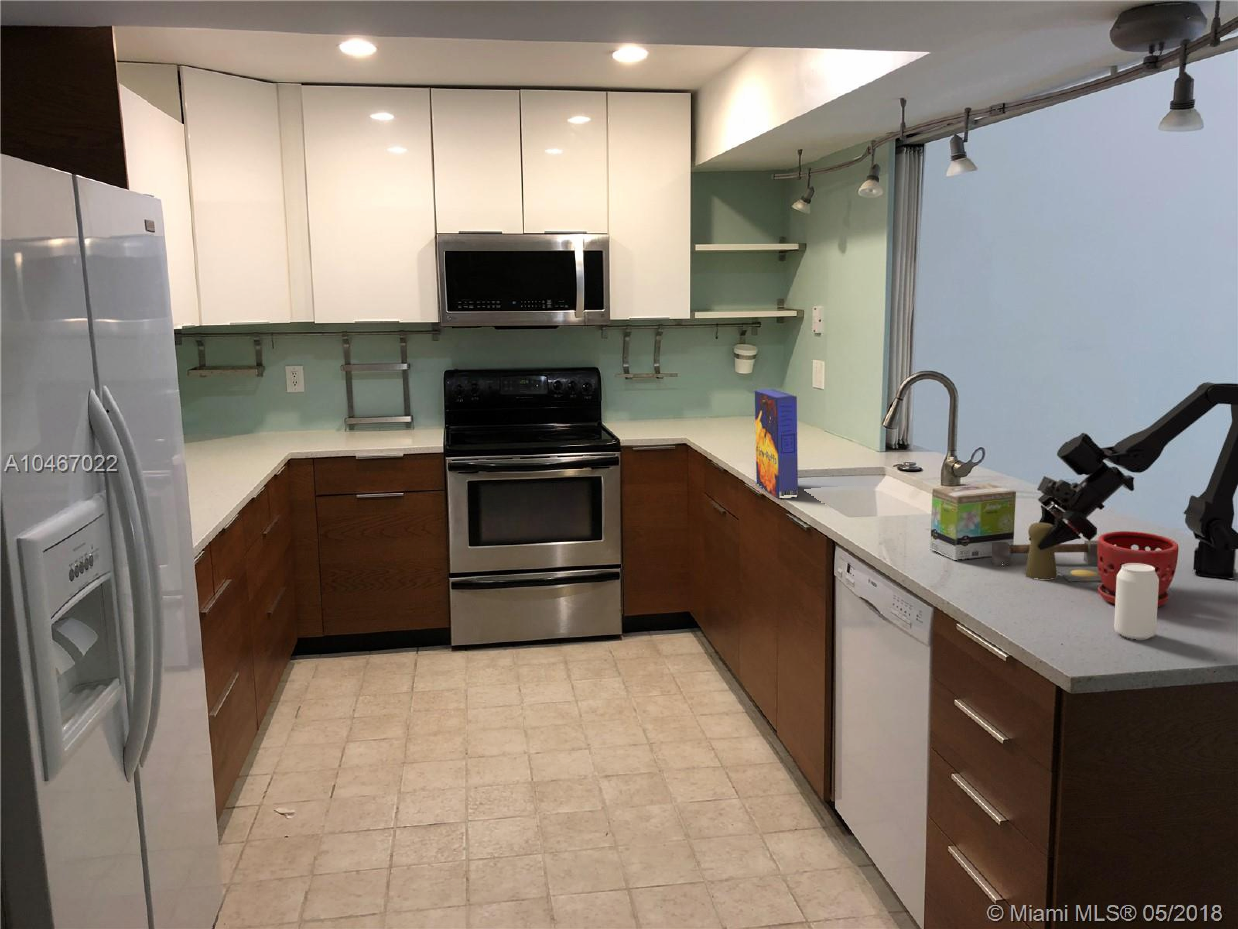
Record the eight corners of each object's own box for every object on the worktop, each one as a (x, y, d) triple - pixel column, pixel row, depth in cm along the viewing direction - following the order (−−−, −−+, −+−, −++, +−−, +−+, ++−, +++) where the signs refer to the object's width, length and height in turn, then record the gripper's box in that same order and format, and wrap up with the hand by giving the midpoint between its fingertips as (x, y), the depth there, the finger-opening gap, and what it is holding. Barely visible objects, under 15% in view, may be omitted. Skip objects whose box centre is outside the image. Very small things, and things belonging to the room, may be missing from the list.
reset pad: (1098, 568, 196) (1098, 566, 195) (1116, 581, 187) (1116, 579, 187) (1053, 569, 197) (1053, 567, 197) (1068, 582, 188) (1068, 580, 188)
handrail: (1098, 560, 201) (1099, 540, 200) (1103, 564, 198) (1104, 544, 197) (991, 561, 204) (992, 542, 203) (995, 565, 201) (995, 545, 200)
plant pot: (1084, 604, 175) (1087, 541, 173) (1109, 586, 184) (1112, 527, 182) (1162, 618, 166) (1165, 553, 164) (1184, 599, 175) (1188, 537, 173)
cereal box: (756, 485, 295) (754, 389, 289) (774, 483, 296) (773, 388, 290) (778, 499, 273) (776, 396, 268) (798, 497, 274) (796, 395, 269)
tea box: (956, 562, 205) (957, 496, 202) (929, 551, 214) (930, 487, 211) (1015, 554, 208) (1017, 489, 206) (986, 543, 218) (987, 481, 215)
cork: (1038, 581, 189) (1040, 528, 187) (1018, 573, 195) (1019, 522, 193) (1063, 577, 191) (1065, 525, 189) (1043, 570, 196) (1044, 518, 194)
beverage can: (1111, 638, 158) (1115, 569, 156) (1116, 626, 163) (1119, 560, 161) (1153, 644, 155) (1157, 574, 152) (1157, 632, 160) (1161, 564, 158)
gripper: (1049, 455, 197) (993, 507, 200) (1082, 472, 179) (1020, 529, 182) (1087, 491, 198) (1031, 542, 201) (1124, 511, 179) (1061, 568, 183)
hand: (1034, 544), depth 192 cm, fingers closed on cork, 5 cm apart
